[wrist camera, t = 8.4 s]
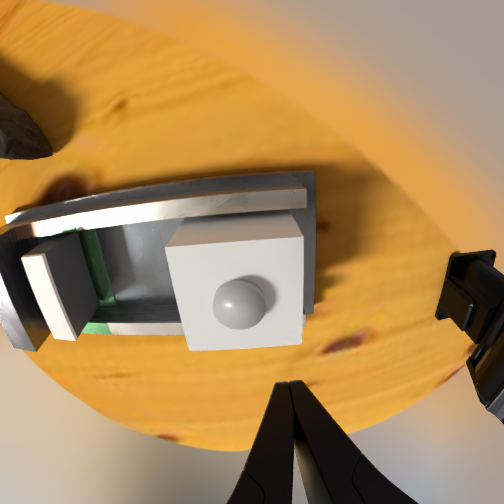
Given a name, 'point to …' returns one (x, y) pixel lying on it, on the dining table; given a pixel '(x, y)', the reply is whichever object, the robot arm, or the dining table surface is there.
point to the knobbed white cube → (238, 279)
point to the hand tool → (20, 135)
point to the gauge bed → (140, 247)
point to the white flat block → (62, 284)
